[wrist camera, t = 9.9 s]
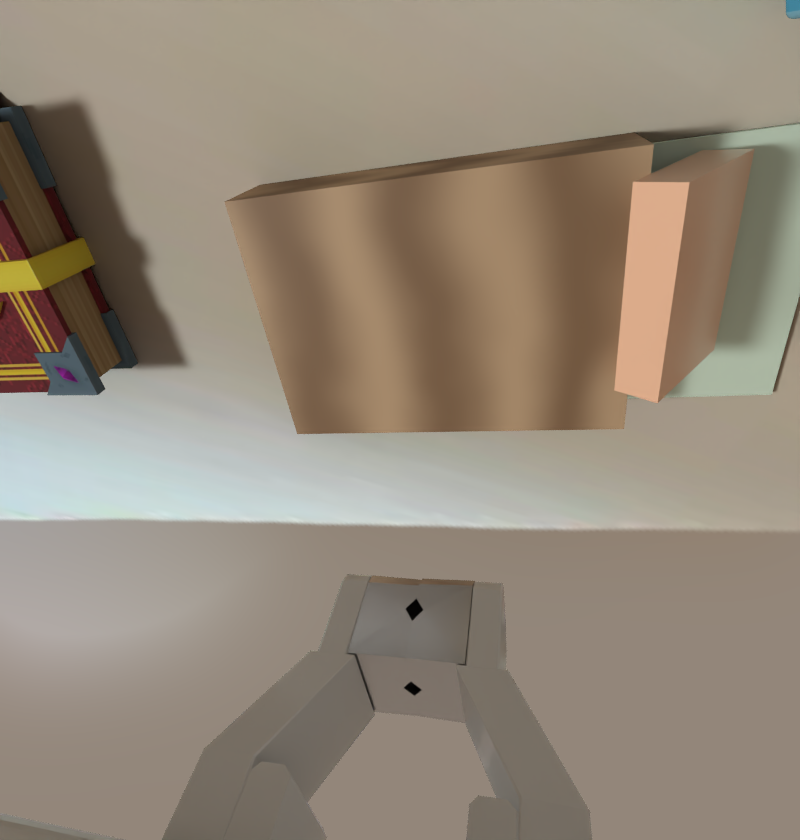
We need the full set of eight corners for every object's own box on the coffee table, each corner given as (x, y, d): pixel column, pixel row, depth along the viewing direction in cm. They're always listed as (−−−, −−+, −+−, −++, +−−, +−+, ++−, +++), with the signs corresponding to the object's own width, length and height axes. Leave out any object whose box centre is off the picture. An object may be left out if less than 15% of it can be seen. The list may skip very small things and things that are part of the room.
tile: (702, 150, 22) (754, 148, 21) (672, 340, 27) (714, 349, 26) (632, 181, 19) (689, 182, 18) (614, 390, 24) (657, 403, 23)
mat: (845, 116, 21) (849, 117, 21) (769, 391, 28) (771, 394, 28) (633, 145, 23) (634, 146, 23) (611, 396, 30) (612, 398, 30)
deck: (634, 132, 23) (653, 144, 19) (612, 388, 30) (623, 428, 26) (259, 185, 27) (224, 201, 24) (318, 398, 34) (297, 433, 31)
